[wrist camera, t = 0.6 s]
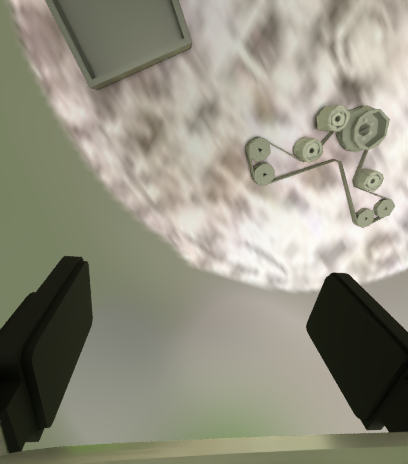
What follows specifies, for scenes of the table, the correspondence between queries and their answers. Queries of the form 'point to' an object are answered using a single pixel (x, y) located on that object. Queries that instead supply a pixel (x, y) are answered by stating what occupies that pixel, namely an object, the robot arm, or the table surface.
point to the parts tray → (120, 35)
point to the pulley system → (310, 150)
